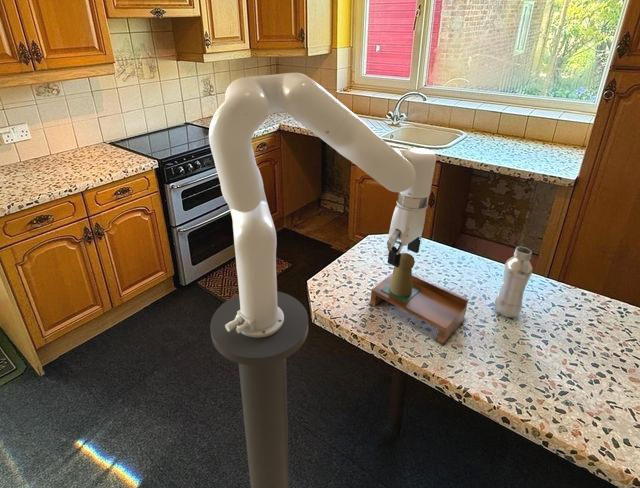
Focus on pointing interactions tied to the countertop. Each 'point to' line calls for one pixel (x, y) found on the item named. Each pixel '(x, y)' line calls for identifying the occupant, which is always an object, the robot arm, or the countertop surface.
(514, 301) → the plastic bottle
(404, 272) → the cork
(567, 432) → the countertop surface
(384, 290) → the wooden shelf
